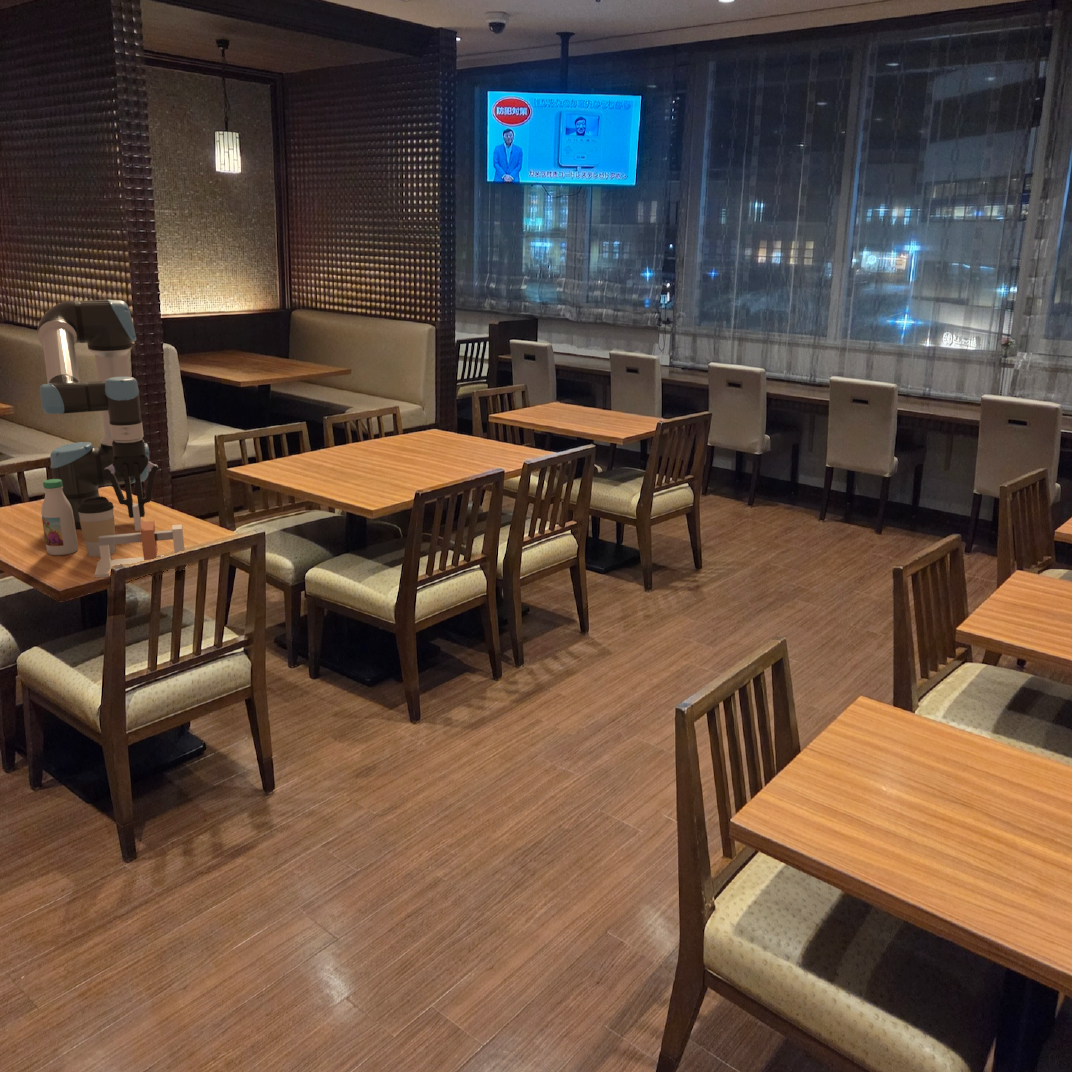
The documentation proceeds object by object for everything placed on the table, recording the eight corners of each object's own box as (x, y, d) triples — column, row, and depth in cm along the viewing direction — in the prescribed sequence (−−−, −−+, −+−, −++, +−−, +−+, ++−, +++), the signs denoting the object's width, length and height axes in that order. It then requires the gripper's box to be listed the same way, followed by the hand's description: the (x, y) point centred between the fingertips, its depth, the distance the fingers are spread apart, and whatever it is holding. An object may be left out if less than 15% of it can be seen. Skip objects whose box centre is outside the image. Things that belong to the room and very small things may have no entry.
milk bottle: (70, 545, 266) (60, 475, 260) (83, 551, 262) (73, 480, 256) (42, 551, 261) (30, 480, 254) (55, 558, 256) (44, 486, 250)
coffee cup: (106, 559, 256) (98, 505, 251) (76, 556, 257) (68, 503, 253) (126, 548, 264) (119, 496, 259) (97, 546, 266) (90, 494, 261)
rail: (98, 563, 252) (93, 527, 249) (187, 555, 259) (183, 520, 256) (94, 577, 242) (89, 540, 239) (186, 569, 249) (183, 532, 246)
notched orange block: (145, 550, 254) (142, 521, 251) (157, 549, 254) (154, 520, 252) (144, 560, 246) (140, 530, 244) (156, 559, 247) (153, 529, 245)
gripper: (98, 444, 235) (110, 535, 242) (155, 441, 239) (165, 531, 246) (101, 437, 242) (112, 527, 249) (156, 435, 246) (165, 523, 253)
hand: (138, 529), depth 247 cm, fingers closed
